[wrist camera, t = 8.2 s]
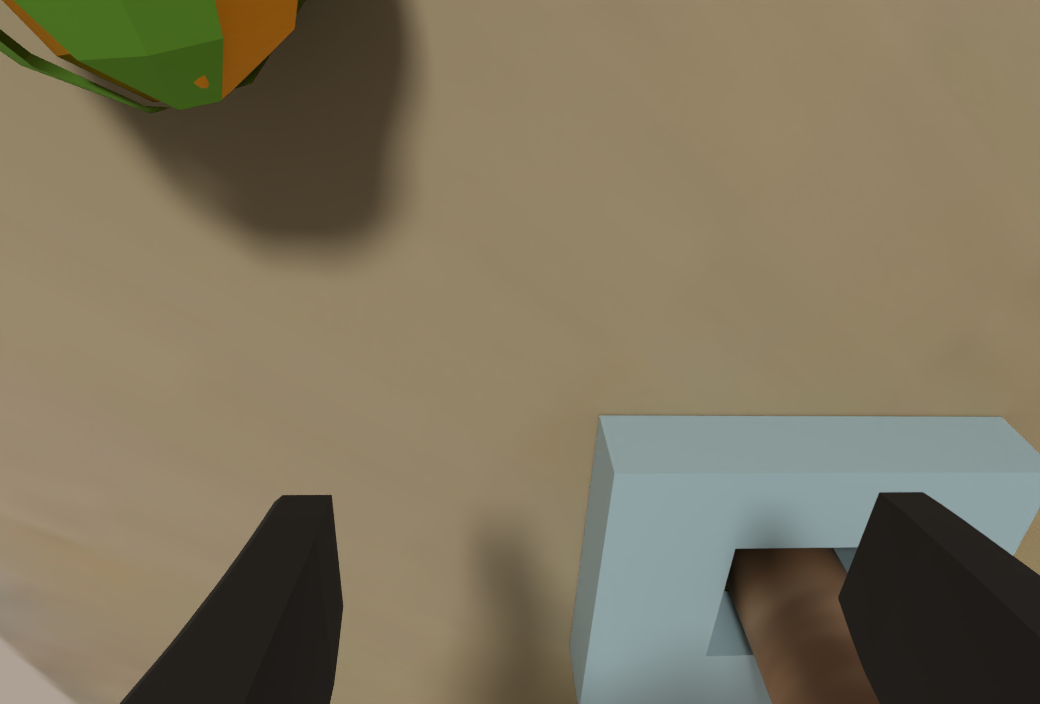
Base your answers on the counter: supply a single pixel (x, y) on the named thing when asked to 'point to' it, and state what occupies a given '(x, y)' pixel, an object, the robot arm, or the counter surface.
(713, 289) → the counter surface
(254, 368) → the counter surface
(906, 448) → the board
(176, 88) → the corn
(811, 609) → the peg
